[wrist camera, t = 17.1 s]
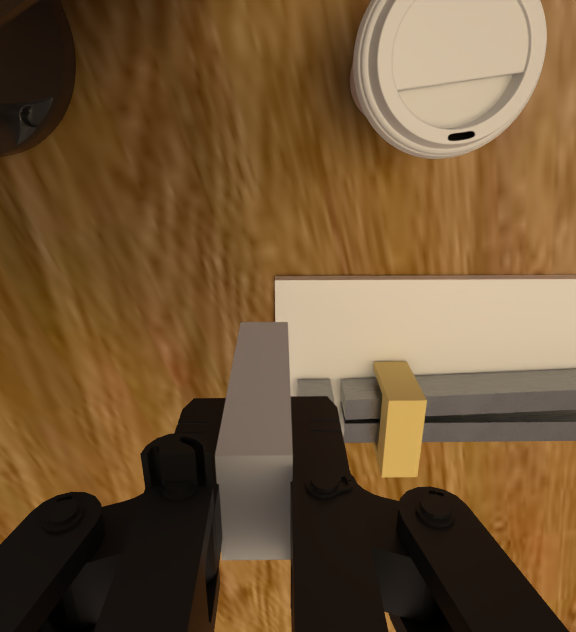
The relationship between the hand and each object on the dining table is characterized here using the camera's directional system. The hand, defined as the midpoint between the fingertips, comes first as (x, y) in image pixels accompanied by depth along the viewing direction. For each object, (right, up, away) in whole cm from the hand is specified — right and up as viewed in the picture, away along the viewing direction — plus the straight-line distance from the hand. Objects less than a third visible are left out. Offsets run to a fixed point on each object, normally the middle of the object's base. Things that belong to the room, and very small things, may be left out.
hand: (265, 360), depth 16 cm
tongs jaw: (+18, -5, +29) cm, 34 cm away
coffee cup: (+9, +19, +21) cm, 30 cm away
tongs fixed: (+16, -6, +30) cm, 34 cm away
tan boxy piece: (+10, -6, +30) cm, 32 cm away
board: (+17, -2, +30) cm, 34 cm away
